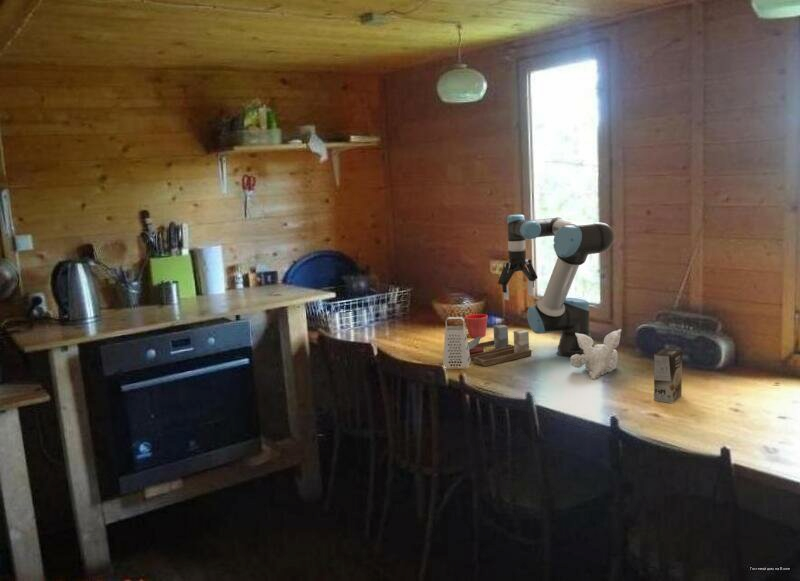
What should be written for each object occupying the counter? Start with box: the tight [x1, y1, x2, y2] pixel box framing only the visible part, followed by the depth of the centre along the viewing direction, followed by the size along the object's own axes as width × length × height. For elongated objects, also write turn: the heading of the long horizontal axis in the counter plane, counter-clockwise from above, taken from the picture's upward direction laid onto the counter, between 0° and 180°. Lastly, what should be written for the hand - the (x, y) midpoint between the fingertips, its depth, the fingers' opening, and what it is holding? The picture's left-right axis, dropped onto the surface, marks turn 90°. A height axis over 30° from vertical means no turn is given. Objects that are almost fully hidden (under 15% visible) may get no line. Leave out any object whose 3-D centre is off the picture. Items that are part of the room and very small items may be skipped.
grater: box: [442, 316, 472, 369], centre depth 298 cm, size 10×10×20 cm
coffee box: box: [653, 348, 683, 404], centre depth 243 cm, size 9×6×16 cm
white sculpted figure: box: [569, 328, 622, 380], centre depth 278 cm, size 19×20×20 cm
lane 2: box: [472, 329, 532, 367], centre depth 303 cm, size 8×24×10 cm, turn 120°
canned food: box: [468, 336, 485, 355], centre depth 313 cm, size 11×10×10 cm
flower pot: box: [464, 313, 489, 339], centre depth 345 cm, size 11×11×10 cm
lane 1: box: [468, 323, 514, 361], centre depth 315 cm, size 14×24×10 cm, turn 120°
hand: (518, 297), depth 322 cm, fingers open, 13 cm apart
